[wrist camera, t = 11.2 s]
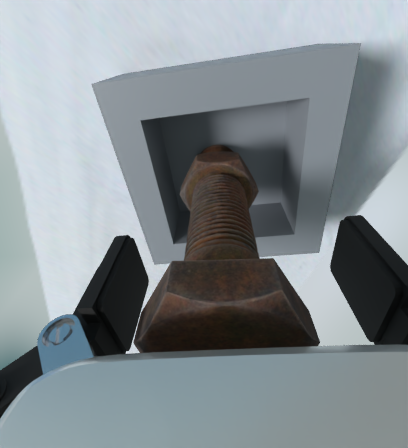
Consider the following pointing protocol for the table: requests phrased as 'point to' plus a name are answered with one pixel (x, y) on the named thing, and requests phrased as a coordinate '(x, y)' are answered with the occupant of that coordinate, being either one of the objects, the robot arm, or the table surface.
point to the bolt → (222, 273)
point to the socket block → (234, 139)
